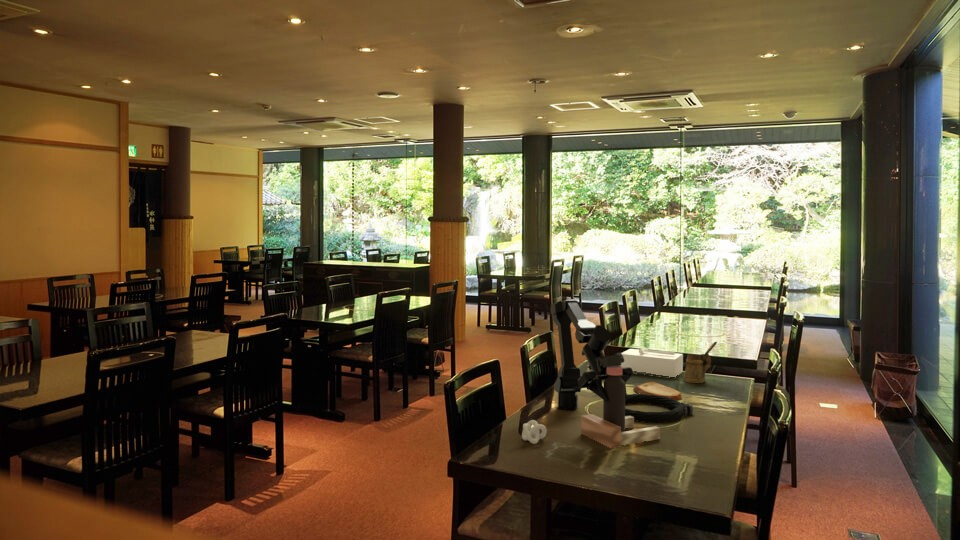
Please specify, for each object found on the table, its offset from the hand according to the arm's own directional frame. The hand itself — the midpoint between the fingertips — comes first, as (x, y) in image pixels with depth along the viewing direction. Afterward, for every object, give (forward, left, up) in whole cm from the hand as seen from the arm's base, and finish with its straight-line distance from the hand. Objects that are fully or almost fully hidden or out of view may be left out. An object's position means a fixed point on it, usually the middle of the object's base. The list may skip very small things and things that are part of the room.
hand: (617, 400), depth 198 cm
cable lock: (+7, +34, -13) cm, 37 cm away
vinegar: (-1, +1, -10) cm, 10 cm away
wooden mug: (+24, +88, -12) cm, 92 cm away
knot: (-25, -11, -13) cm, 30 cm away
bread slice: (+9, +61, -13) cm, 63 cm away
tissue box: (+3, +101, -13) cm, 101 cm away
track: (+1, +3, -12) cm, 13 cm away
